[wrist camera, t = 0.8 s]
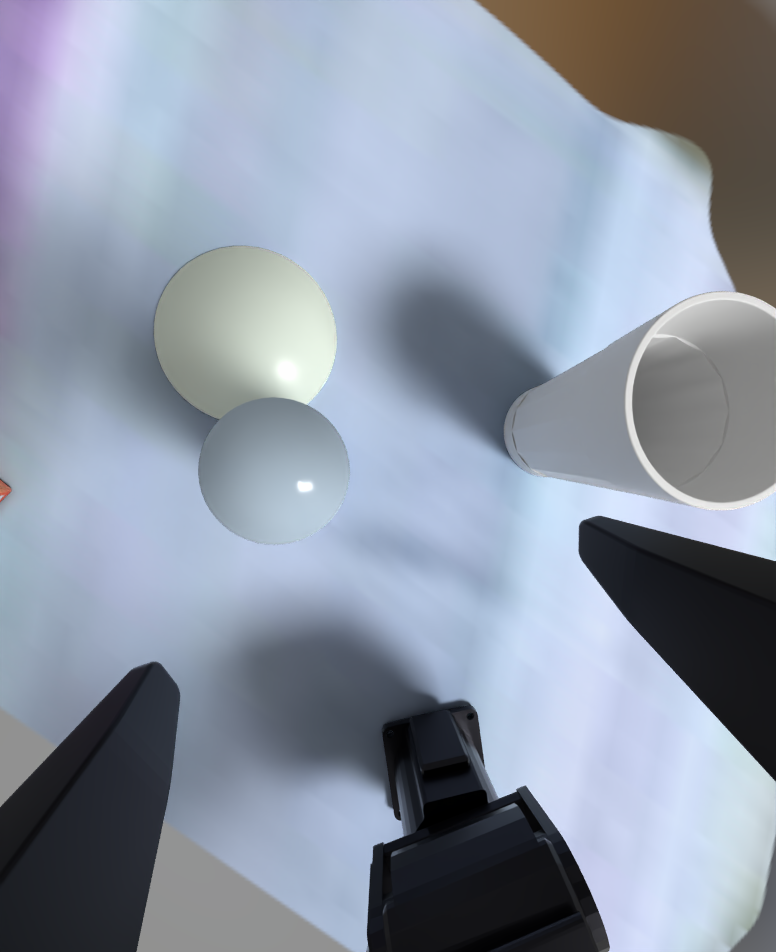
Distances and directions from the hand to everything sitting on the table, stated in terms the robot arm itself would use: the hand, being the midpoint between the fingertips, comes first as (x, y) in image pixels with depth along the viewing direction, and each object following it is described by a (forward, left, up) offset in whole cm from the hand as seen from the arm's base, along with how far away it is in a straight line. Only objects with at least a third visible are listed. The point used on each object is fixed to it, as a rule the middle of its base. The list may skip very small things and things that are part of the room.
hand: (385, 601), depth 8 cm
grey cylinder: (+3, +3, -17) cm, 17 cm away
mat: (+12, +5, -17) cm, 21 cm away
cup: (+3, -14, -17) cm, 22 cm away
